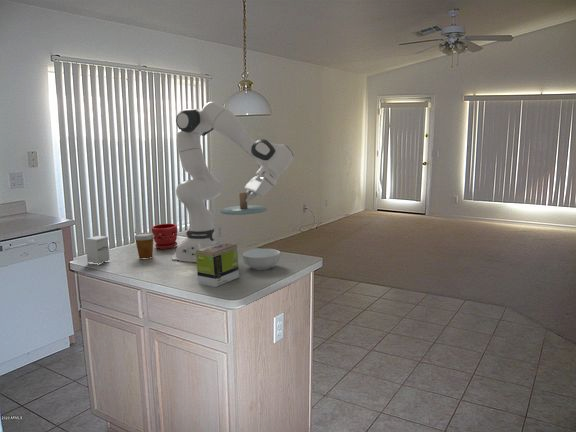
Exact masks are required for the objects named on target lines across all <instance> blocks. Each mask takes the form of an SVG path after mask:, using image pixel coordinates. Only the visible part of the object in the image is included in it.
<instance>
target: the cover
mask: <svg viewBox="0 0 576 432" xmlns="http://www.w3.org/2000/svg"><path fill="white" fill-rule="evenodd" d="M238 194H239V195H238V196H239V197H238V199H239V205H236V206H235V205H234V206H228V207H225V208H221V209H220V213H221V214H222V215H229V216H237V215H238V216H241V215H244V216H245V215H253V214H260V213H264V212H267V211H268V207H267V206H265V205H255V204H254V205H248V203H247V202H246V201H245V199H246V198H247V191H241V192H239V193H238Z"/></svg>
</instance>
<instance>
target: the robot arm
mask: <svg viewBox="0 0 576 432" xmlns="http://www.w3.org/2000/svg"><path fill="white" fill-rule="evenodd" d="M175 123H176V126H177V128H178V129H179V131H178V132H177V133H176V145H177V149H178V150H177V151H178V156H179V160H180V164H181V167H182V169H183V171H185V172H186V173H188V174H189V175H190V176H191V178H192V179H188V180H185V181H182V182H180V183H179V184H178V185H177V186H176V190H175V195H176V197H177V199H178V201H179V202H181V204H183V205H184V206H185V208H186V211H187V213H188V215H189V216H188V217H189V227H190V228H189V229H188V230H187V231H186V232H185V235H187V237H185V239H183V240H182V241H181V242H180V243H178V244H177V245H176V251H175V253H174V254H173V255H172V256H171V260H172V261H177V260H179V261H178V262H190V263H197V260H196V250H198V249H201V248H204V247H207V246H210V245H213V244H216V242H215V239H216V238H215V237H216V233H215V228H214V218H213V213H212V211H211V210H210V209H207V206H206V204H205V202H206V201H210V200H213V199H215V198H217V197H219V196H220V195H221V194H222V191H223V185H222V183H221V181H220V180H219V179H218V178H216V177H215V176H214V175H213V173H211V171H210V170H209V167H208V166H207V164H206V161H205V157H204V154H203V150H202V145H201V141H200V139H201V137H202V136H203V137H205V136H207V134H209V133H211V132H212V131H216V132H217V133H219V135H222V136H223V137H225V138H226V139H228V140H230V141H231V142H233V143H234V144H236V145H237V146H239V147H241V149H242V150H243V151H245V152H246V153H247V154H249V155H250V156H251V157H252V158H253V159H254V160H255V162H256V164H257V165H258V170H257V171H256V172H255V175H256V176H254V177H252V178H251V179H250V180H249V181H248V182H247V183H246V185H244V189H245V192H247V198H246V199H245V201H246V202H247V204H249V203H250V202H251V201H252V200H253V199H255V198H256V197H259V198H263V197H264V196H265V195H266V194H267V193H268V192H269V191H270V190H271V189H272V188H273V187H275V186H277V184H278V181H277V180H278V179H279V178H280V177H281V176H280V175H281V174H282V173H284V172H285V171H286V170H287V168H289V166H290V165H291V163H292V162H293V160H294V153H293V152H292V150H291V149H290V147H289V146H288V145H286V144H284V143H281V144H279V143H274V142H272V141H269V140H267V139H263V138H262V139H261V138H259V139H257V140H255V139H253V138H252V137H251V136H250V135H249V133H248V132H247V131H246V129H245V127H244V125H243V124H242V122H241V120H240V119H239V118H238V117H237V116H236V115H235V113H233V112H232V111H231V110H230V109H228V108H227V107H225V106H224V105H221V104H220V103H219V102H218V103H217V102H216V101H209V102H207V103H205V104H204V106H203V107H202V109H200V108H195V109H192V108H191V109H190V108H188V109H181V110H180V111H179V112H178V113H177V115H176V118H175Z"/></svg>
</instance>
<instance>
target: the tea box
mask: <svg viewBox="0 0 576 432" xmlns="http://www.w3.org/2000/svg"><path fill="white" fill-rule="evenodd" d="M196 260H197V262H196V268H197V269H196V270H197V271H196V272H197V283H198V284H199V285H202V286H207V287H213V288H217V287H218V286H221V285H224V284H226V283H228V282H231V281H233V280H236V279H238V278H240V269H239V256H238V245H237V244H235V243H227V242H220V241H219V242H217V243H216V242H215V244H213V245H210V246H207V247H204V248H201V249H198V250H196Z"/></svg>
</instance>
